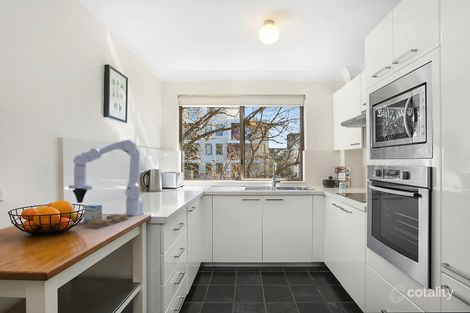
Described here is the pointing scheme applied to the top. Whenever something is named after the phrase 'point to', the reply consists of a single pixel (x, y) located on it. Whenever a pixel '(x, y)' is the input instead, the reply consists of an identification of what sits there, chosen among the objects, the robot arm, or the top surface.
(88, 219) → the medicine box
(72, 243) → the top surface
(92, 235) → the top surface
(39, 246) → the top surface
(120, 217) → the walnut channel
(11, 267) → the top surface
